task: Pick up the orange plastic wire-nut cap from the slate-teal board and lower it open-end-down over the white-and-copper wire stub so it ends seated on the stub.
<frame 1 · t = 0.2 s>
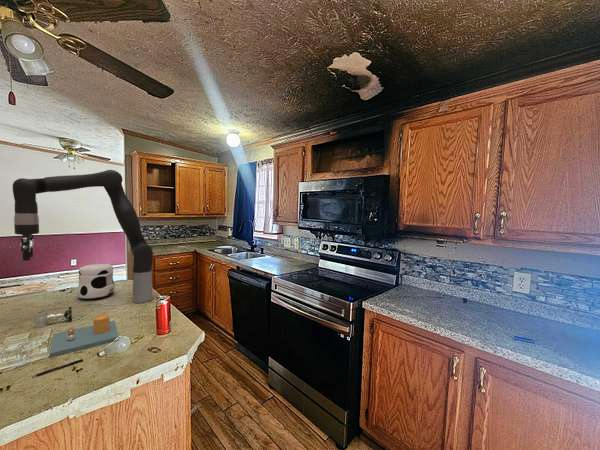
hand: (28, 258, 114), 29 cm above the worktop, fingers open, 8 cm apart
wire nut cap: (101, 330, 107), point 1 cm above the worktop, touching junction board
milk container: (96, 296, 149), on the worktop
black thin rod: (59, 370, 84), on the worktop
wire stub: (71, 343, 99), resting on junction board
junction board: (86, 338, 103), on the worktop
valve: (53, 324, 114), on the worktop
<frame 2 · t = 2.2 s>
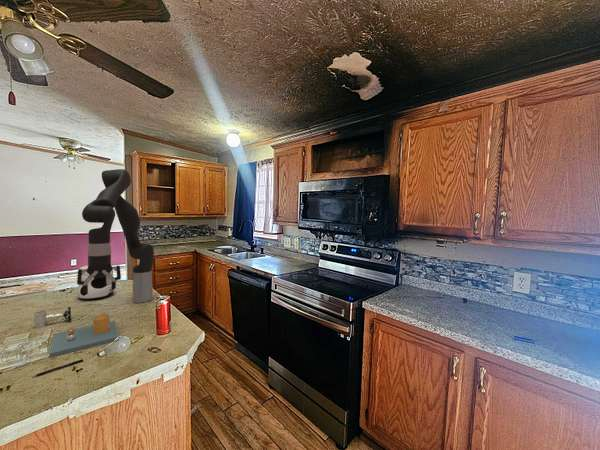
hand: (99, 291, 105), 18 cm above the worktop, fingers open, 8 cm apart
nothing on the worktop moved.
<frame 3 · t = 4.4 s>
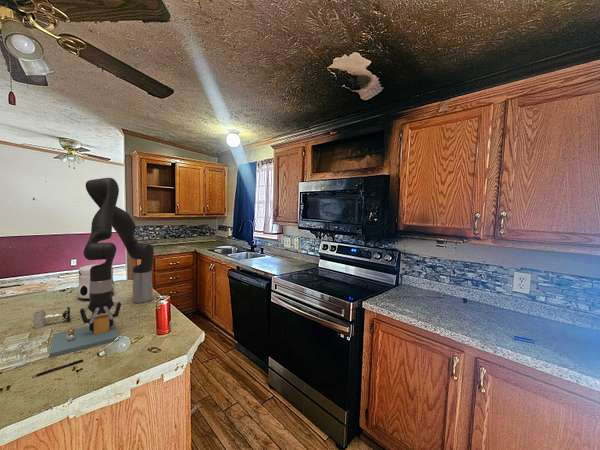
hand: (101, 328, 106), 2 cm above the worktop, fingers closed on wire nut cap, 5 cm apart
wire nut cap: (101, 330, 107), point 2 cm above the worktop, touching gripper, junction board
everything else where it was.
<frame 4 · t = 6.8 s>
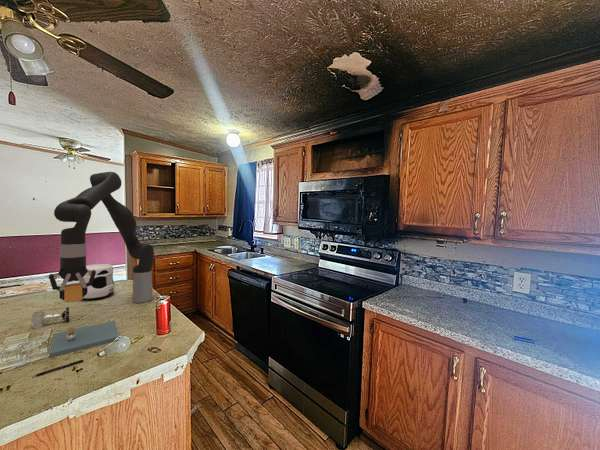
hand: (73, 297, 98), 18 cm above the worktop, fingers closed on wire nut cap, 5 cm apart
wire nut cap: (73, 299, 98), point 17 cm above the worktop, touching gripper
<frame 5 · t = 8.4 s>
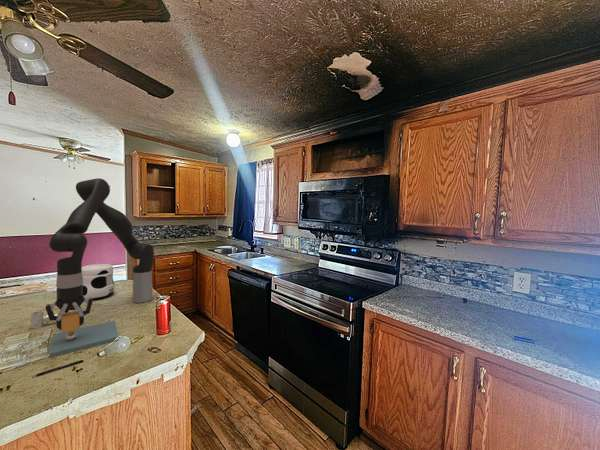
hand: (70, 326, 98), 7 cm above the worktop, fingers closed on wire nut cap, 5 cm apart
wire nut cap: (70, 328, 99), point 6 cm above the worktop, touching gripper
when the fingers open (3 cm above the worktop, at t = 9.5 s): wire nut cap stays where it is, resting on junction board.
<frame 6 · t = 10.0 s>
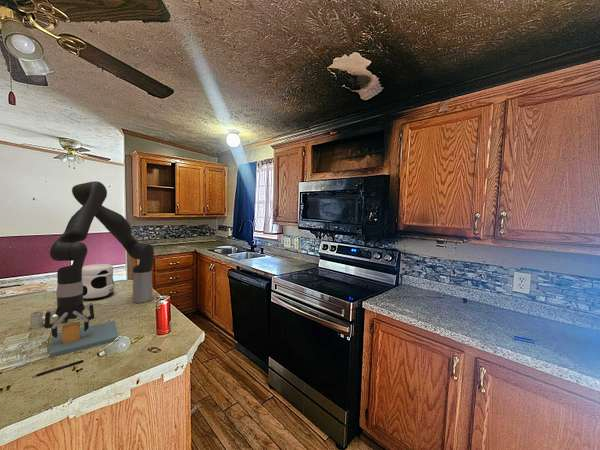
hand: (71, 333, 99), 4 cm above the worktop, fingers open, 8 cm apart
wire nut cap: (71, 339, 99), point 1 cm above the worktop, touching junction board
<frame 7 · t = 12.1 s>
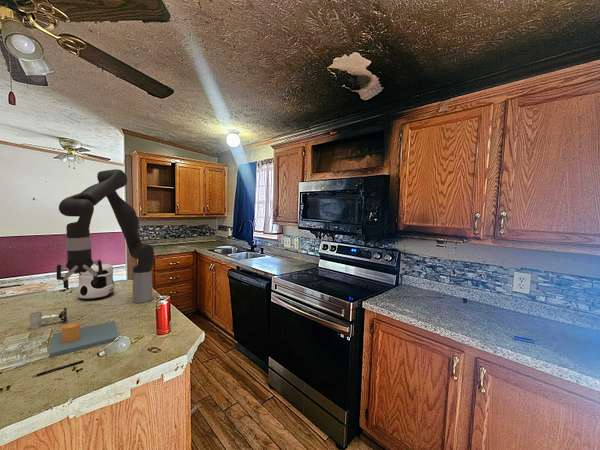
hand: (81, 286, 104), 21 cm above the worktop, fingers open, 8 cm apart
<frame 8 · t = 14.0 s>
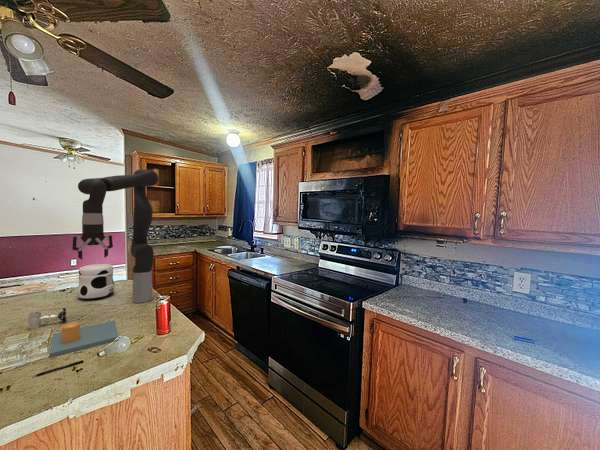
hand: (93, 258, 116), 30 cm above the worktop, fingers open, 8 cm apart
at the end: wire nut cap 0.0 cm off-centre on the wire stub, point 1.5 cm above the wire stub's base; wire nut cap tilted 0°; the gripper is holding nothing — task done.
